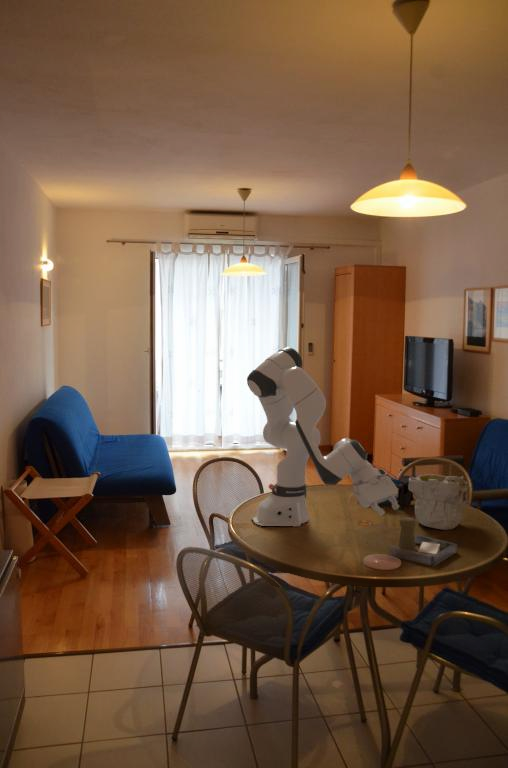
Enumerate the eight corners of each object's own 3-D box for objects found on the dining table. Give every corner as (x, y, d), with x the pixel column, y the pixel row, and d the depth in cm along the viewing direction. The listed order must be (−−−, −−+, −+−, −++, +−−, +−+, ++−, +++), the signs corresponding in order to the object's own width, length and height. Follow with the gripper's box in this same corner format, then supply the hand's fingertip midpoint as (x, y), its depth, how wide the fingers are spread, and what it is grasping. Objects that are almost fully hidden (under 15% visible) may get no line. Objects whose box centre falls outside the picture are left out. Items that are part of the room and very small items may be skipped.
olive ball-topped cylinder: (416, 553, 220) (417, 521, 219) (397, 552, 222) (398, 520, 220) (415, 547, 226) (416, 516, 225) (397, 545, 227) (398, 515, 226)
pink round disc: (372, 571, 204) (372, 569, 204) (357, 557, 216) (357, 555, 216) (407, 568, 207) (407, 565, 207) (391, 554, 219) (391, 552, 219)
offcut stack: (417, 560, 214) (417, 552, 214) (422, 550, 225) (422, 541, 224) (436, 563, 212) (436, 554, 212) (440, 552, 222) (440, 543, 222)
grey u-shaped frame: (389, 554, 219) (389, 546, 219) (413, 541, 231) (413, 533, 231) (433, 566, 208) (433, 557, 208) (456, 552, 221) (456, 543, 221)
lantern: (409, 521, 275) (353, 509, 288) (419, 487, 283) (364, 477, 295) (402, 504, 263) (344, 492, 276) (412, 469, 271) (356, 459, 283)
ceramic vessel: (411, 488, 271) (449, 447, 260) (453, 533, 261) (495, 492, 250) (385, 499, 254) (425, 455, 242) (430, 548, 243) (474, 504, 232)
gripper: (355, 479, 222) (379, 512, 217) (387, 469, 237) (410, 500, 232) (344, 489, 226) (367, 523, 220) (376, 479, 241) (399, 510, 235)
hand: (390, 511), depth 226 cm, fingers open, 8 cm apart
